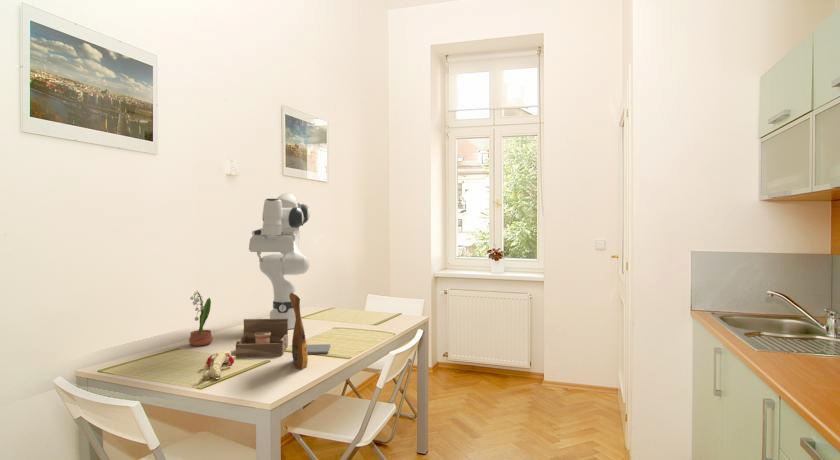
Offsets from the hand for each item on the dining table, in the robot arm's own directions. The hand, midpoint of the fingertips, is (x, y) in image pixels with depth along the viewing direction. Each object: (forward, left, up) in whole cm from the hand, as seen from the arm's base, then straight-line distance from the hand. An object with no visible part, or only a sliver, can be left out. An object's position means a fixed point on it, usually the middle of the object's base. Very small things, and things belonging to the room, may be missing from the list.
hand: (271, 261), depth 218 cm
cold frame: (+15, -1, -38) cm, 41 cm away
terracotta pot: (+15, -1, -38) cm, 41 cm away
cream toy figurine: (+39, -12, -38) cm, 56 cm away
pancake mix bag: (+34, +17, -38) cm, 54 cm away
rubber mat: (+15, +22, -38) cm, 46 cm away
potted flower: (+1, -32, -38) cm, 50 cm away
